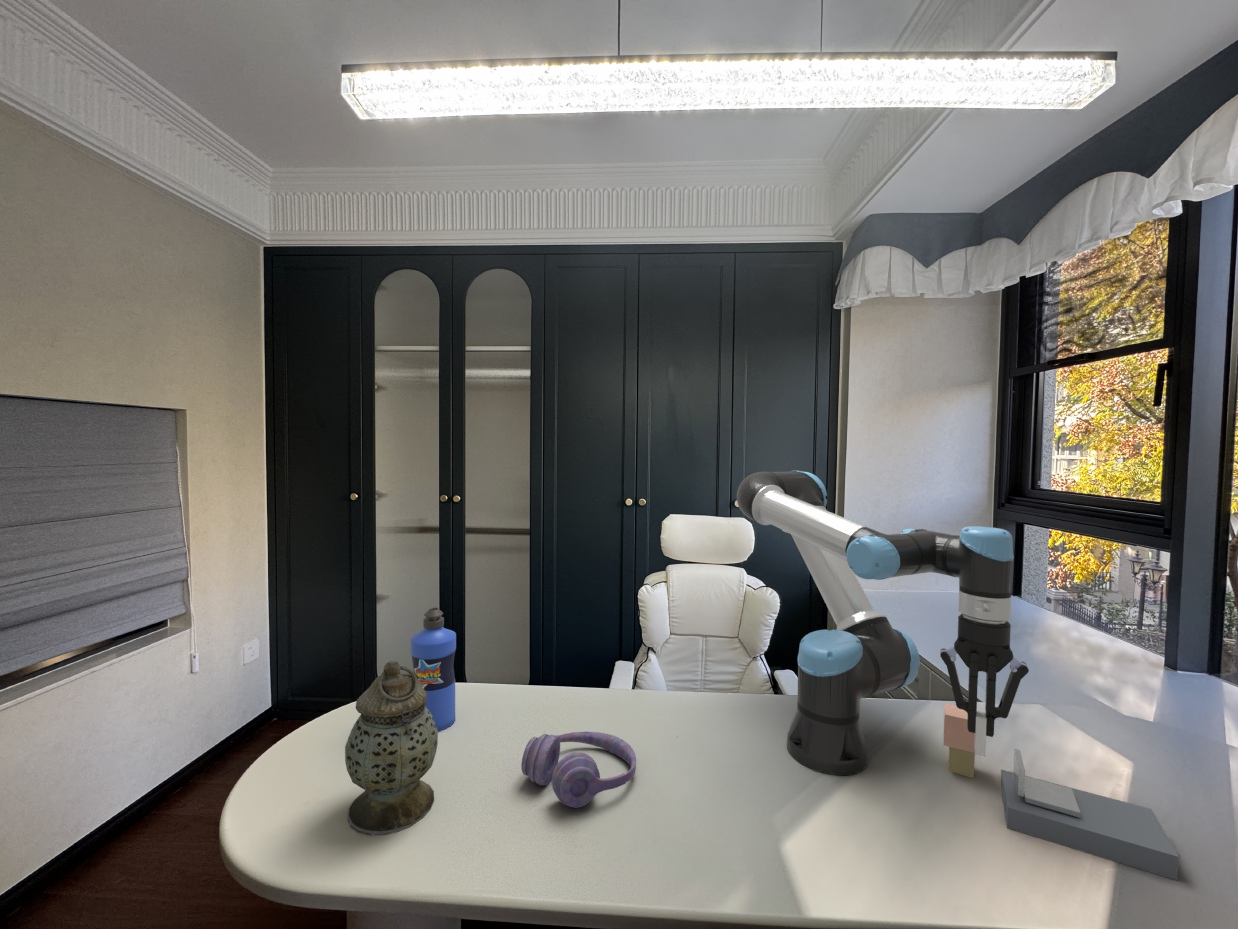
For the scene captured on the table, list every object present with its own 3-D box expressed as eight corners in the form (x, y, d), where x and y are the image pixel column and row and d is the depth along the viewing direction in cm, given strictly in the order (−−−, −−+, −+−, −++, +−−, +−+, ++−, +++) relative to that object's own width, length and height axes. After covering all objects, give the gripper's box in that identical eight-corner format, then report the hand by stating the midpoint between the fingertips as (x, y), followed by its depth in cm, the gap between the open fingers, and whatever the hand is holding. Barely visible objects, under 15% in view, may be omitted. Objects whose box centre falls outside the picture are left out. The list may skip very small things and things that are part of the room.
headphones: (574, 827, 87) (653, 789, 101) (580, 773, 87) (658, 743, 102) (506, 777, 99) (585, 750, 114) (512, 730, 100) (590, 709, 114)
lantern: (441, 777, 100) (441, 642, 99) (431, 831, 86) (431, 675, 85) (358, 786, 97) (357, 647, 96) (334, 844, 83) (333, 683, 82)
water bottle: (448, 734, 114) (448, 616, 113) (403, 733, 114) (403, 615, 113) (461, 711, 124) (461, 602, 122) (420, 711, 124) (420, 602, 123)
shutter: (1017, 800, 90) (1019, 769, 89) (1012, 777, 96) (1014, 748, 95) (1080, 817, 86) (1082, 785, 85) (1071, 793, 92) (1073, 763, 91)
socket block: (1006, 828, 88) (1007, 807, 88) (1000, 788, 99) (1001, 769, 99) (1177, 880, 78) (1178, 856, 78) (1150, 829, 89) (1151, 808, 88)
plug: (942, 771, 104) (944, 714, 103) (942, 758, 108) (944, 703, 108) (980, 781, 101) (982, 723, 100) (978, 767, 105) (981, 711, 105)
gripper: (940, 616, 94) (936, 751, 95) (1034, 630, 88) (1029, 774, 88) (940, 606, 101) (936, 731, 102) (1028, 618, 94) (1023, 752, 95)
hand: (979, 751), depth 95 cm, fingers closed
